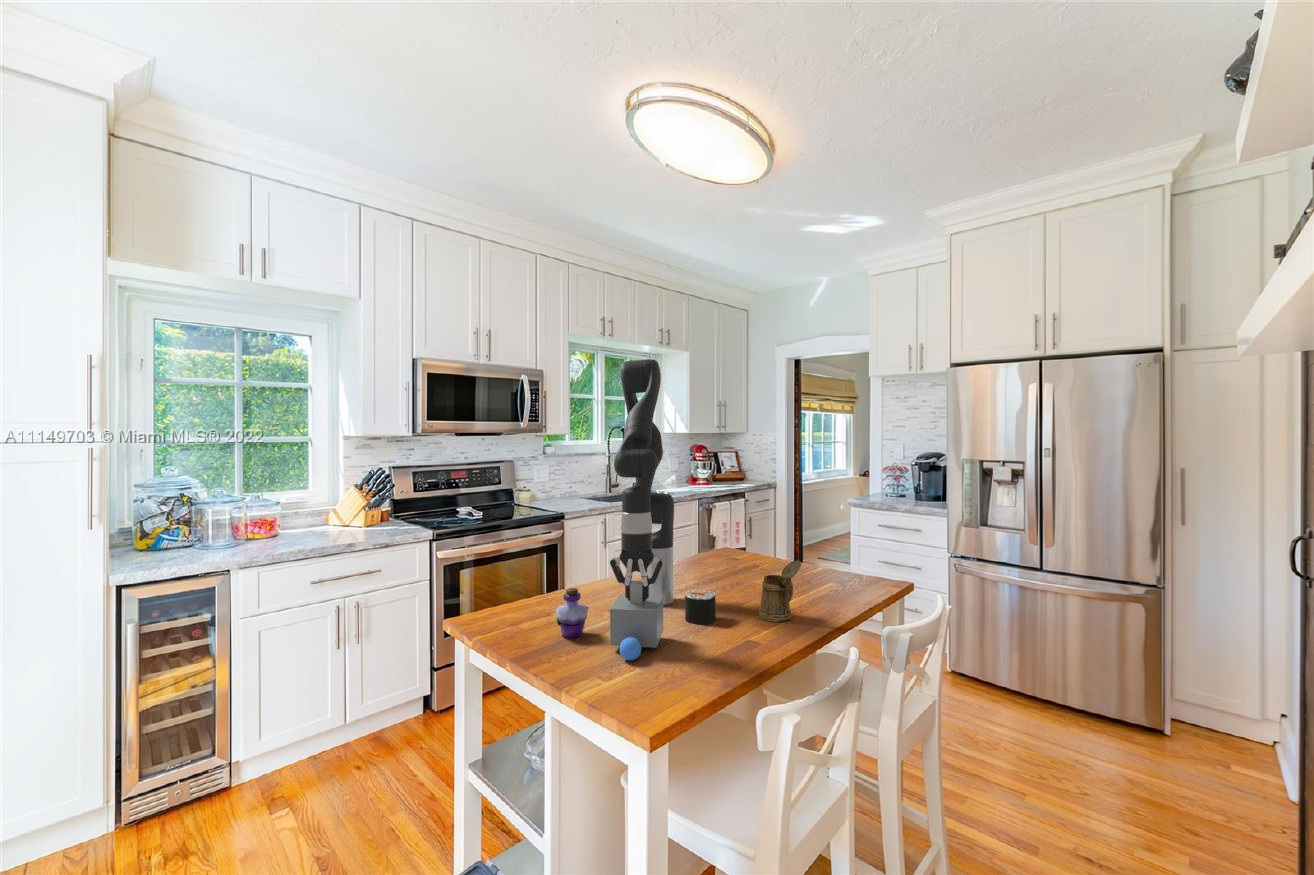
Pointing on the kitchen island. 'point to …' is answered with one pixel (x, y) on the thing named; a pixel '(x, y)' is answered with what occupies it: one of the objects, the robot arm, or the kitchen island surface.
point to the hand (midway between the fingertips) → (637, 599)
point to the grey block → (637, 617)
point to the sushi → (700, 607)
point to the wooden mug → (778, 594)
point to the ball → (630, 648)
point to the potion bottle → (572, 615)
